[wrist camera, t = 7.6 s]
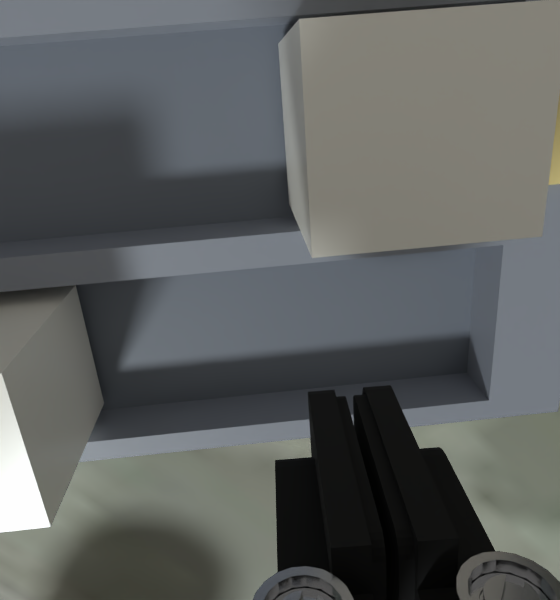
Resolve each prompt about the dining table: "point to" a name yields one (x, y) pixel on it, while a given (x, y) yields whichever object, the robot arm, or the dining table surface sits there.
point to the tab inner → (42, 402)
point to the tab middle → (420, 125)
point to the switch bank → (237, 237)
